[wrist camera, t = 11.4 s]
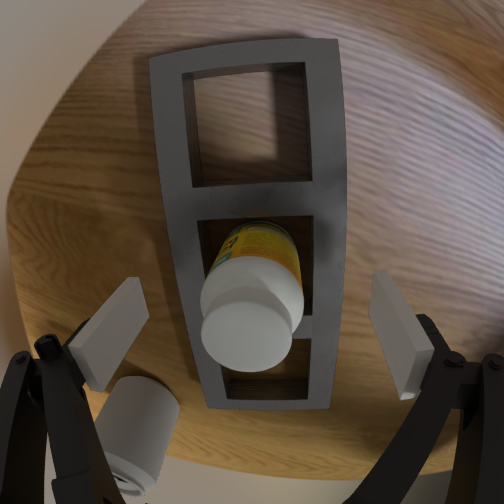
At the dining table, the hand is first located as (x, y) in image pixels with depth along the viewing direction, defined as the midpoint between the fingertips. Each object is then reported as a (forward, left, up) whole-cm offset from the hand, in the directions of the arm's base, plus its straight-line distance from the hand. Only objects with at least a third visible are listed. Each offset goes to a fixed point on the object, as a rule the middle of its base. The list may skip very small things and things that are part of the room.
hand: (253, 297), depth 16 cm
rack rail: (0, 0, -6) cm, 6 cm away
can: (+13, +16, -6) cm, 21 cm away
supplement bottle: (0, 0, -6) cm, 6 cm away
